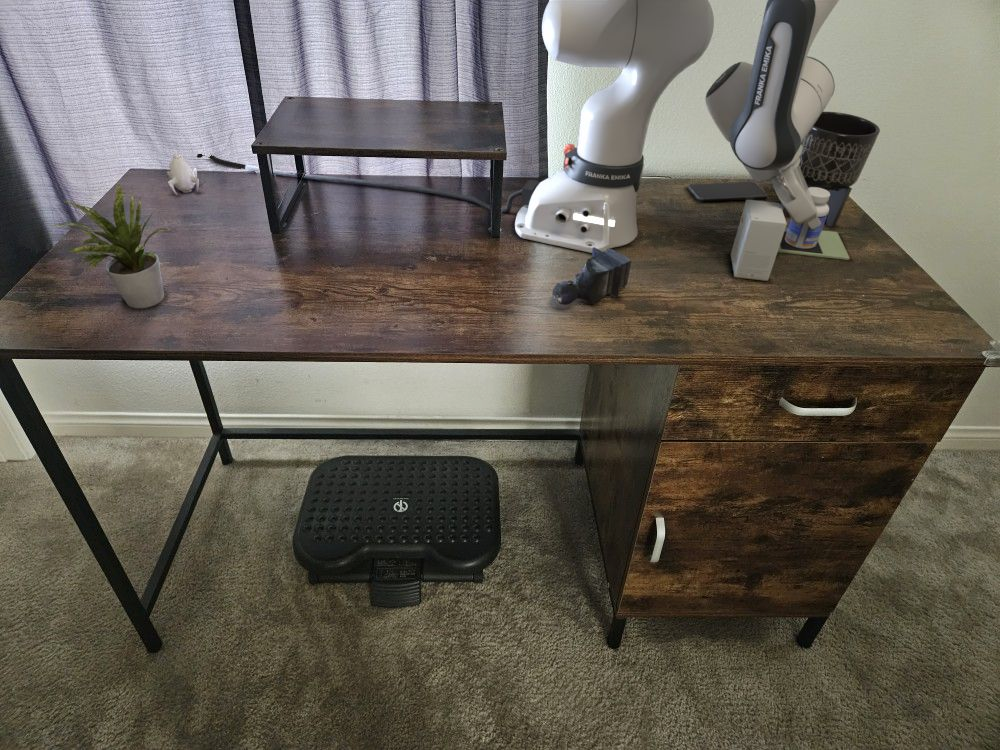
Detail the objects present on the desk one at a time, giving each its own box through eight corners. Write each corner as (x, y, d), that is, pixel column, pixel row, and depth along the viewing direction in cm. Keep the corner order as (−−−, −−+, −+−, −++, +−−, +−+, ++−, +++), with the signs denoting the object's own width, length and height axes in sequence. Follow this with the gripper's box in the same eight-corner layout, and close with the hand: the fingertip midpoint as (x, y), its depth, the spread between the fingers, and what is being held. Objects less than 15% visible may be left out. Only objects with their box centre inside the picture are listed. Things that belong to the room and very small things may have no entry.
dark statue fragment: (541, 302, 100) (545, 266, 96) (600, 276, 107) (606, 240, 103) (571, 322, 96) (575, 285, 92) (630, 293, 103) (637, 257, 99)
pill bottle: (816, 239, 118) (836, 189, 112) (814, 252, 114) (834, 201, 108) (785, 233, 119) (803, 182, 113) (782, 245, 116) (800, 194, 109)
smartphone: (686, 183, 134) (754, 180, 136) (685, 188, 135) (753, 184, 137) (699, 199, 129) (770, 195, 130) (698, 203, 129) (769, 199, 131)
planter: (856, 220, 126) (895, 128, 114) (816, 236, 120) (853, 141, 109) (799, 195, 134) (830, 107, 122) (759, 209, 128) (788, 118, 116)
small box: (767, 282, 107) (788, 224, 100) (733, 278, 108) (750, 219, 101) (762, 258, 113) (781, 202, 106) (729, 254, 114) (746, 198, 107)
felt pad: (766, 251, 115) (767, 248, 115) (759, 225, 123) (760, 222, 122) (849, 260, 113) (850, 257, 113) (836, 233, 121) (837, 231, 121)
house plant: (93, 279, 101) (50, 179, 91) (188, 264, 105) (157, 167, 95) (86, 330, 91) (37, 224, 81) (192, 311, 95) (157, 208, 85)
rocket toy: (171, 187, 127) (159, 147, 122) (201, 183, 129) (189, 144, 124) (172, 198, 123) (159, 157, 118) (203, 194, 125) (191, 154, 120)
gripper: (800, 167, 99) (842, 233, 104) (782, 123, 114) (820, 182, 119) (761, 191, 102) (804, 254, 107) (749, 145, 118) (787, 202, 123)
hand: (812, 216), depth 113 cm, fingers closed on pill bottle, 5 cm apart
